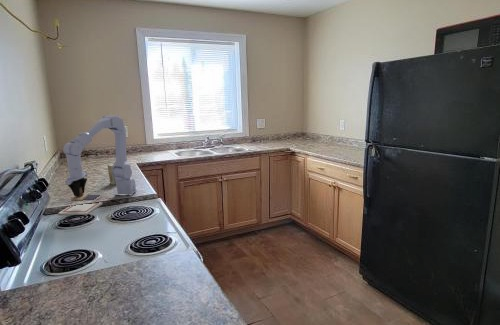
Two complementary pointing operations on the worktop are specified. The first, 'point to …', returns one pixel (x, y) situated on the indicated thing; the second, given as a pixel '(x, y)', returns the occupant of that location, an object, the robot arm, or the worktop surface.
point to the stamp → (80, 197)
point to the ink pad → (92, 197)
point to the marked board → (80, 209)
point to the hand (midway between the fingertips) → (79, 194)
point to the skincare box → (112, 178)
